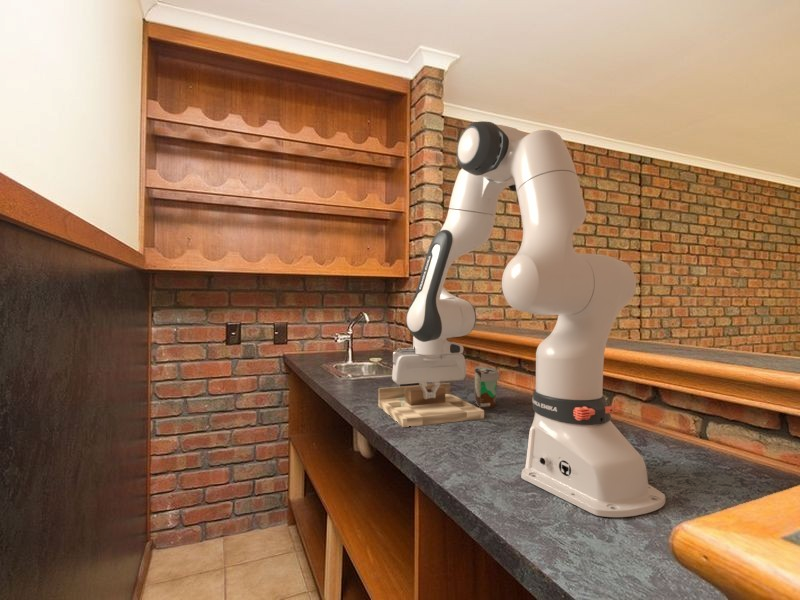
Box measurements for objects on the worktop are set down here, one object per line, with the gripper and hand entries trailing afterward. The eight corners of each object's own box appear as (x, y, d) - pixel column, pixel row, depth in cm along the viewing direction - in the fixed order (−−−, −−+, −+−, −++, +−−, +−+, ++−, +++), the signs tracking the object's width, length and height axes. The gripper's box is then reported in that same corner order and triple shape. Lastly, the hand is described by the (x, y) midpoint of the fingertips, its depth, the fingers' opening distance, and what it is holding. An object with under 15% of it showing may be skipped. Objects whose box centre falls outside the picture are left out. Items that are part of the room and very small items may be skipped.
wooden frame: (484, 418, 107) (484, 398, 107) (403, 427, 100) (403, 406, 99) (448, 399, 126) (448, 382, 126) (378, 405, 118) (378, 388, 118)
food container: (503, 411, 114) (504, 374, 114) (481, 410, 114) (481, 374, 114) (494, 399, 126) (494, 366, 126) (474, 399, 126) (474, 366, 126)
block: (445, 402, 115) (445, 387, 115) (411, 405, 111) (411, 390, 111) (437, 398, 119) (437, 383, 119) (404, 401, 116) (404, 386, 116)
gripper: (396, 349, 105) (396, 404, 105) (468, 346, 112) (468, 398, 112) (388, 346, 111) (388, 398, 111) (457, 343, 118) (457, 392, 118)
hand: (429, 398), depth 112 cm, fingers closed
